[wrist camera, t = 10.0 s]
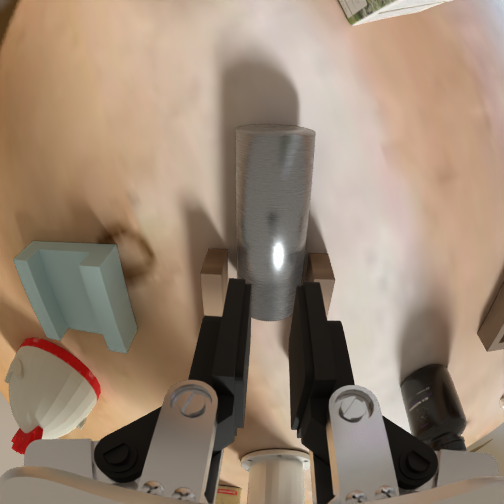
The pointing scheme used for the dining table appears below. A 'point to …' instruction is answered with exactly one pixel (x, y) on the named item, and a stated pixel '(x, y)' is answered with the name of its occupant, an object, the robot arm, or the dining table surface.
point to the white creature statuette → (501, 403)
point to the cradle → (78, 290)
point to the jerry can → (228, 495)
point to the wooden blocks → (217, 279)
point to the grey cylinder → (272, 213)
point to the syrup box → (383, 9)
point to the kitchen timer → (48, 392)
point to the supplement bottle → (434, 408)
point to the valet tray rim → (494, 325)
